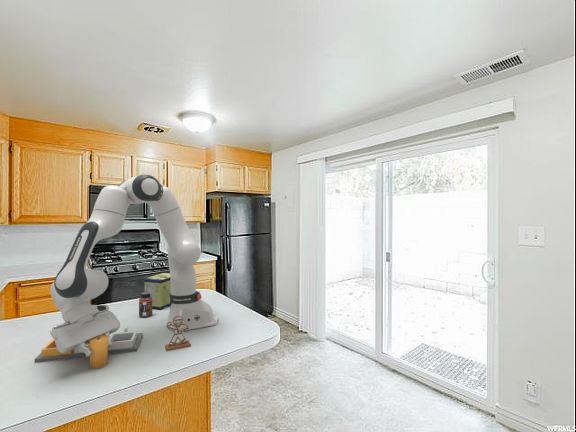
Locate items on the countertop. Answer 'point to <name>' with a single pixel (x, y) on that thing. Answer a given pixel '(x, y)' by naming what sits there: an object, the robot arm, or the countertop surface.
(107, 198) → the robot arm
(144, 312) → the supplement bottle
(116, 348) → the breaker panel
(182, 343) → the gingerbread man figurine
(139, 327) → the countertop surface
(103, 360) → the cap
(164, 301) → the protein box
